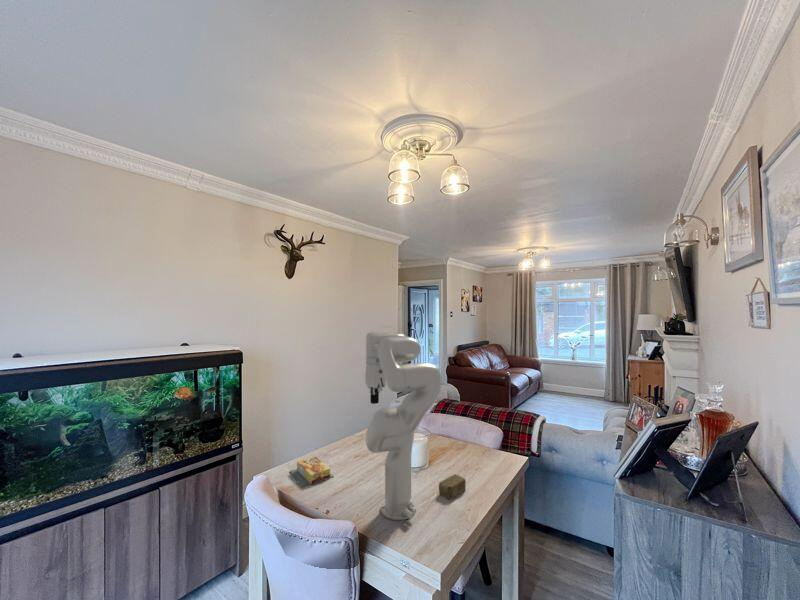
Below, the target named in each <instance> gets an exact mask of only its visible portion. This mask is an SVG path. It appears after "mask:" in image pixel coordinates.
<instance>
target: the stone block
mask: <svg viewBox="0 0 800 600" xmlns="http://www.w3.org/2000/svg"><path fill="white" fill-rule="evenodd" d="M465 490H466V478H465V477H462V476H461V475H457V474H456V473H455V474H452V475H450V476H449V477H447V478H445V479H444V480H441V481H440V482H439V483H438V493H439V495H441V496H442V497H444V498H445V499H448V500H451V498H452V499H453V498H455V497H456V496H458V495H459V494H461V493H463V492H465ZM462 491H463V492H462ZM457 494H458V495H457ZM454 496H455V497H454Z"/></svg>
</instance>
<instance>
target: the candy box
mask: <svg viewBox="0 0 800 600" xmlns="http://www.w3.org/2000/svg"><path fill="white" fill-rule="evenodd" d="M296 465H297V466H296V469H297V471H298V472H299V473H300V474H301V475H302V476H303V477H304V478H305V479H306V480H308V481H309V482H310V483H311V484H310V485H313V484H316V483H319V481H320V482H322V480H323V481H325V480H324V479H326V480H328V479H327V478H329V479H331V478H330V473H331V468H330V467H329V466H327V465H326V464H325V463H324V462H322V461H321V460H320V459H319V458H317V457H316V456H312V457H309V458H305V459H302V460H299V461H297V462H296Z"/></svg>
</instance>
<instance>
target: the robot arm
mask: <svg viewBox="0 0 800 600" xmlns="http://www.w3.org/2000/svg"><path fill="white" fill-rule="evenodd" d="M365 340H366V341H365V364H366V365H365V374H364V375H365V384H366V387H367V388H368V389H369V394H370V404H372V405H375V404H379V397H380V396H379V394H380V392H383V388H385V387H386V385H387V387H388V389H389V390H390V391H392V392H394V393H402V392H404V393H405V392H410V393H408V394H407V395H406V396H405V397H404V398H403V400H402V402H401V404H399V405H395V406H388V407H382V408H380V409H377V410H376V411H375V412H374V413H373V416H372V419H371V421H370V422H369V425H368V427H367V429H366V434H365V445H366V447H367V449H368V451H370V452H371V453H374V454H380V453H385V452H387V454H386V458H385V462H384V465H385V466H384V501H383V502H382V503H381V504H380V512H381V514H382V516H383V517H385V518H387V519H389V520H391V521H392V520H393V521H404V520H407V519H410V520H411V519H412V518H413V517H414V515H415V514H416V513H417V510H416V508H417V507H416V504H415V502H413V500H412V455H413V454H412V452H413V445H414V439H415V431H416V429H418V427H419V426H420V424H421V422H422V421H423V419H424V417H425V415H426V414H427V413H428V412H429V410H430V409H431V408H432V406H434V405H435V403H436V401H437V400H438V398H439V396H440V392H441V389H442V374H441V371H440V369H439V367H437V366H436V365H434V364H432V363H428V362H415V363H414V362H413V363H408V362H412V361H415V360H416V359H417V358H418V357H419V356H420V354H421V345H420V343H419V342H418V341H417V339H415V338H413V337H410V336H406V335H405V333H401V332H379V331H378V332H374V331H373V332H371V331H370V332H367V333H366V336H365ZM405 362H406V363H405ZM398 363H399V364H398ZM402 363H403V364H402Z"/></svg>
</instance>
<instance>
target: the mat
mask: <svg viewBox="0 0 800 600" xmlns="http://www.w3.org/2000/svg"><path fill="white" fill-rule="evenodd" d="M290 472H291V473H290ZM289 473H290V474H291V476H292V477H293V476H294V477H295V478H294V477H293V478H294V479H295V480H296V481H298V482H299V483H298V482H297V483H298V484H299V485H300V487H301V486H303V487H306V485H307V486H309V484H310V485H312V484H311V483H310V482H309V481H308V480H306V479H305V478H304V477H303V476H302V475H301V474H300V473H299V472H298V471H297V468H295V469H292V470H291V469H290V470H289ZM334 477H335V476H334V475H333V474H332V473H331V472H330V478H327V479H324V480H322V481H326V480H329V479H333V478H334ZM322 481H321V482H322Z"/></svg>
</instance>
